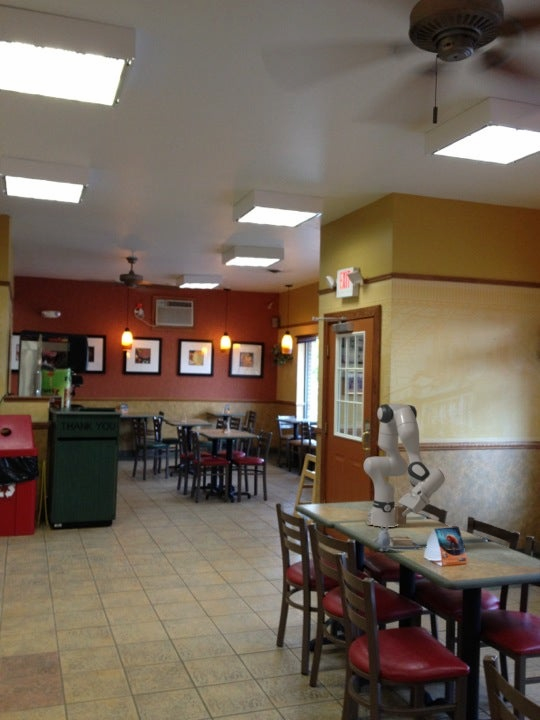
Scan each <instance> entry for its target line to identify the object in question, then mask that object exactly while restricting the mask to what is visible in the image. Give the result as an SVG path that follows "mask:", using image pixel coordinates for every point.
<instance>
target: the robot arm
mask: <svg viewBox="0 0 540 720" xmlns="http://www.w3.org/2000/svg"><path fill="white" fill-rule="evenodd" d="M376 412H377V413H376V414H377V419H378V421H379V422H380V424H379V428H378V429H379V430H378V440H377V441H378V442H377V445H378V447H379V448H380V449H381V450H382V451H384V452H385V455H386V456H379V455H378V456H370V457H367V458H366V459H365V460H363V461H364V462H363V470H364V472H365V474H366V475H368V476H369V477H370V479H371V480H372V483H373V487H374V496H373V497H374V499H373V501H372V507H370V509H369V510H368V512H366V517H368V518H367V519H368V520H369V521H370V522H371V524H373V525H378V526H395V525H397V523H395V522H394V516H395V506H396V501H395V492H396V491H395V487H394V486H393V484H392V483H390V482H388V481H387V480H386V478H387V477H400V476H405V475H406V474H408V478H409V481H410V485H411V486H412V488H411V490H410V492H407V493H406V494H404V495H403V496H402V497H401V498H400V499H398V501H397V503H398V504H399V506H404V507H406V508H407V510H405V511H404V512H402V513H401V515H402V516H404V517H405V516H406V515H409V514H411V512H412V513H415V514H418V513H420V512H421V511H422V510H424V509H425V507H426V506H427V505H429V504H430V503H431V500H430V498H431V497H432V496H433V494H435V492H437V491H438V490H439V489H440V488H441V487H442V486H443V484H444V483H445V480H446V477H445V475H444V473H443V472H442V471H441V470H440V469H439V468H438V467H432V466H429V465H426V464H424V463H423V461H422V457H421V453H420V429H419V425H418V421H417V417H418V411H417V409H416V407H415V406H414V405H411V404H402V403H394V404H393V403H390V404H387V403H384V404H381V405H380V406H379V407H378V408H377V411H376ZM399 439H400V441H401V443H402V446H403V447H404V449H405V452H406V454H407V457H408V460H409V461H408V462H409V465H408V462H407V460H406V459H405V458H404V457H403V455H401V453H400V450H399ZM406 517H407V516H406Z"/></svg>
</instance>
